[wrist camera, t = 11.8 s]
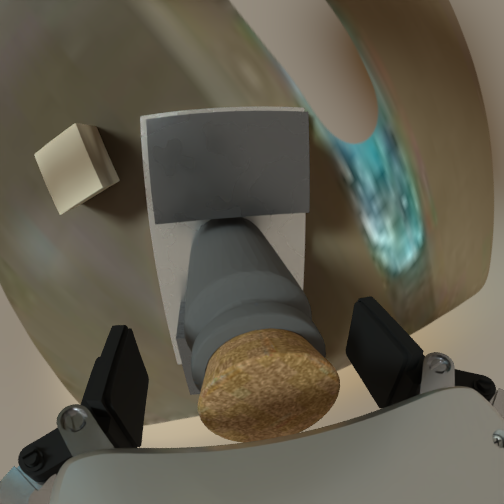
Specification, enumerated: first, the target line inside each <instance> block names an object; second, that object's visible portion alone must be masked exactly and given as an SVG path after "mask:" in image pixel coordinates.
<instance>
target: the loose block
mask: <svg viewBox="0 0 504 504" xmlns="http://www.w3.org/2000/svg"><path fill="white" fill-rule="evenodd" d="M34 155H35V158H36V160H37V163H38V166H39V168H40V171H41V173H42V176H43V178H44V180H45V183H46V185H47V188H48V190H49V192H50V194H51V197H52V199H53V201H54V203H55V205H56V207H57V210H58V212H59V214H60V215H62V214H63V213H65V212H67V211H69V210H71V209H73V208H75V207H77V206H79V205H81V204H82V203H84V202H86V201H87V200H89V199H90V198H92V197H94V196H95V195H97V194H98V193H100V192H102V191H103V190H105V189H107V188H108V187H110V186H112V185H114V184H115V183H117V182H119V181H120V180H119V178H118V175H117V173H116V171H115V169H114V167H113V164H112V162H111V160H110V158H109V155H108V153H107V151H106V148H105V146H104V144H103V141H102V139H101V136H100V134H99V132H98V129H97V127H96V126H91V125H85V124H78V123H75V124H74V125H72V126H71V127H69V128H68V129H66V130H65V131H64V132H62V133H61V134H60V135H58V136H57V137H56V138H54V139H53V140H52V141H50V142H49V143H48V144H47V145H45V146H44V147H43V148H42V149H40V150H39V151H38V152H37V153H36V154H34Z"/></svg>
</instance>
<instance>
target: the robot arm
mask: <svg viewBox="0 0 504 504" xmlns="http://www.w3.org/2000/svg"><path fill="white" fill-rule="evenodd" d="M346 355H347V357H348V358H349V360H350V362H351V363H352V365H353V366H354V368H355V370H356V371H357V373H358V374H359V376H360V378H361V379H362V381H363V382H364V384H365V385H366V387H367V389H368V390H369V392H370V394H371V395H372V397H373V398H374V400H375V402H376V403H377V405H378V406H379V408H383V409H380V410H377V411H374V412H371V413H368V414H366V415H363V416H360V417H357V418H353V419H350V420H347V421H343V422H340V423H337V424H333V425H330V426H325V427H322V428H318V429H314V430H310V431H305V432H301V433H297V434H292V435H287V436H282V437H277V438H271V439H265V440H259V441H252V442H245V443H237V444H229V445H218V446H206V447H187V448H137V447H140V446H141V442H142V431H143V423H144V414H145V406H146V398H147V390H148V383H149V379H148V374H147V371H146V369H145V366H144V363H143V361H142V358H141V355H140V352H139V349H138V346H137V343H136V340H135V337H134V334H133V331H132V329H128V327H127V326H126V325H116V326H112V328H111V330H110V333H109V335H108V338H107V341H106V343H105V346H104V349H103V351H102V354H101V357H98V358H97V359H96V361H95V364H94V367H93V370H92V372H91V375H90V378H89V381H88V384H87V387H86V390H85V393H84V396H83V399H82V402H81V405H78V404H75V405H70V406H67V407H65V408H64V409H63V410H62V411H61V412H60V413H59V415H58V417H57V426H58V428H56V429H55V430H53V431H51V432H50V433H48V434H46V435H45V436H43V437H41V438H40V439H38V440H36V441H35V442H33V443H31V444H29V445H28V446H26V447H25V448H23V449H22V451H21V452H20V455H19V459H18V460H19V461H18V463H19V466H18V467H17V468H16V467H15V466H14V467H13V468H12V469H11V470H10V471H9V472H8V473H7V474H6V475H5V477H4V478H3V479H2V480H1V481H0V504H504V390H502V389H500V388H499V389H498V390H496V387H495V384H494V382H493V381H492V380H491V379H490V378H488V377H486V376H483V375H479V374H474V373H469V372H465V371H460V370H456V369H454V363H453V361H452V360H451V359H450V358H449V357H448V356H447V355H445V354H442V353H438V352H434V353H430V354H428V355H426V357H425V356H424V355H423V350H422V349H421V348H420V347H419V346H418V344H417V343H416V342H415V341H414V340H413V339H412V338H411V337H410V336H409V335H408V334H407V332H406V331H405V330H404V329H403V328H402V327H401V326H400V325H399V324H398V323H397V322H396V321H395V320H394V319H393V318H392V317H391V316H390V315H389V314H388V313H387V311H386V310H385V309H384V308H383V307H382V306H381V305H380V304H379V303H378V302H377V301H376V300H375V299H374V298H373V297H365V298H360V299H358V301H357V302H356V303H355V305H354V310H353V315H352V321H351V326H350V331H349V336H348V341H347V346H346Z"/></svg>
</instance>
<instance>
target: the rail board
mask: <svg viewBox="0 0 504 504" xmlns="http://www.w3.org/2000/svg"><path fill="white" fill-rule="evenodd" d="M140 122H141V142H142V157H143V170H144V181H145V191H146V200H147V208H148V216H149V224H150V231H151V238H152V244H153V251H154V257H155V263H156V269H157V274H158V280H159V285H160V290H161V295H162V300H163V305H164V309H165V314H166V319H167V323H168V327H169V332H170V336H171V340H172V344H173V348H174V352H175V356H176V360H177V363H178V364H182V366H183V369H184V373H185V377H186V381H187V384H188V388H189V391H190V395H192V394H200V391H199V390H198V389H197V387H196V385H195V383H194V381H193V378H192V372H191V355H192V352H191V350H190V348H189V347H188V345H187V342H186V339H185V333H184V314H185V298H186V287H187V277H188V267H189V259H190V252H191V246H192V242H193V239H194V237H195V235H196V233H197V231H198V230H199V229H200V228H201V227H202V226H203V225H204V224H205V223H206V222H208V221H209V220H211V219H221V218H234V217H243V218H246V219H248V220H249V221H251V222H252V223H254V224H255V225H256V226H257V227H258V228H259V229H260V231H261V232H262V233H263V235H264V236H265V237H266V239H267V240H268V241H269V243H270V244H271V246H272V247H273V248H274V250H275V251H276V253H277V254H278V255H279V257H280V258H281V260H282V261H283V263H284V264H285V265H286V267H287V268H288V270H289V271H290V272H291V274H292V275H293V277H294V278H295V280H296V281H297V282H298V284H299V285H300V287H301V289H302V290H303V282H304V257H305V214H306V213H309V198H310V168H309V121H308V112H304V108H297V107H226V108H209V109H196V110H185V111H176V112H167V113H159V114H152V115H145V116H140Z"/></svg>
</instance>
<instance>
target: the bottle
mask: <svg viewBox="0 0 504 504" xmlns="http://www.w3.org/2000/svg"><path fill="white" fill-rule="evenodd" d="M184 333H185V339H186V342H187V345H188V347H189V348H190V350H191V352H192V355H191V372H192V378H193V381H194V383H195V385H196V387H197V389H198V390H199V391H200V397H199V401H198V412H199V415H200V418H201V421H202V422H203V423H204V425H205V426H206V427H207V428H208V429H209V430H210V431H212V432H213V433H215V434H216V435H219V436H221V437H223V438H225V439H228V440H232V441H237V442H243V443H245V442H252V441H259V440H265V439H271V438H277V437H282V436H287V435H292V434H297V433H299V432H301V431H303V430H305V429H307V428H309V427H310V426H312V425H313V424H315V423H316V422H317V421H319V420H320V419H321V418H322V417H323V416H324V415H325V414H326V413H327V412H328V411H329V410H330V408H331V407H332V406H333V404H334V403H335V401H336V399H337V397H338V393H339V389H340V379H339V376H338V373H337V371H336V370H335V368H334V367H333V366H332V364H331V363H330V362H329V361H328V360H327V359H325V356H326V352H325V344H324V340H323V338H322V336H321V334H320V332H319V331H318V329H317V327H316V326H315V324H314V323H313V322H312V316H311V308H310V304H309V302H308V299H307V297H306V295H305V294H304V292H303V290H302V289H301V287H300V285H299V284H298V282H297V281H296V280H295V278H294V277H293V275H292V274H291V272H290V271H289V270H288V268H287V267H286V265H285V264H284V263H283V261H282V260H281V258H280V257H279V255H278V254H277V253H276V251H275V250H274V248H273V247H272V246H271V244H270V243H269V241H268V240H267V239H266V237H265V236H264V235H263V233H262V232H261V231H260V229H259V228H258V227H257V226H256V225H255V224H254V223H252V222H251V221H249V220H248V219H246V218H243V217H234V218H221V219H211V220H209V221H208V222H206V223H205V224H204V225H203V226H202V227H201V228H200V229H199V230H198V231H197V233H196V235H195V237H194V239H193V242H192V246H191V252H190V259H189V267H188V277H187V287H186V298H185V314H184Z"/></svg>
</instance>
